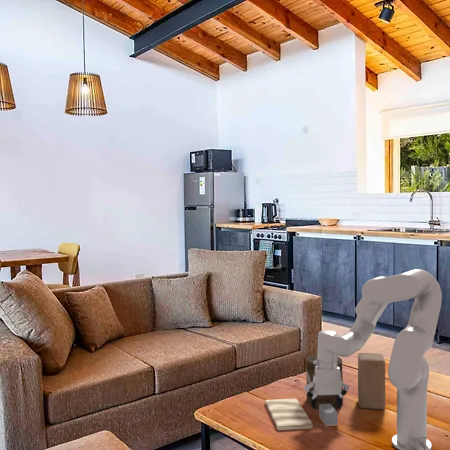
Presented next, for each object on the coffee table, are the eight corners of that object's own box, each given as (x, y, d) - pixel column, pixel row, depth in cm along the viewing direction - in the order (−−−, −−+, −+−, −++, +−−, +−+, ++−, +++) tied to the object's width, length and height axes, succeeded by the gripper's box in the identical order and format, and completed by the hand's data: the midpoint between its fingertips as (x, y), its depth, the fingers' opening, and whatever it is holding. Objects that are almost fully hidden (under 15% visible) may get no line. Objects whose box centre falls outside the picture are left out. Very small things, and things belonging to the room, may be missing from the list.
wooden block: (385, 410, 197) (385, 360, 196) (359, 408, 199) (359, 359, 198) (382, 400, 207) (382, 353, 206) (357, 398, 209) (357, 351, 208)
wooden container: (314, 392, 216) (313, 342, 215) (347, 399, 208) (347, 347, 207) (301, 405, 203) (300, 352, 202) (336, 412, 196) (336, 357, 194)
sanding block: (337, 425, 185) (337, 412, 184) (325, 426, 184) (325, 413, 184) (330, 416, 193) (330, 403, 192) (319, 417, 192) (319, 404, 192)
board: (312, 428, 183) (312, 424, 183) (277, 430, 181) (277, 426, 181) (296, 401, 207) (296, 398, 206) (265, 403, 205) (265, 400, 205)
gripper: (307, 367, 183) (306, 412, 184) (353, 366, 185) (351, 411, 186) (302, 360, 190) (301, 404, 191) (346, 359, 192) (344, 402, 193)
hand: (326, 407), depth 189 cm, fingers open, 9 cm apart
